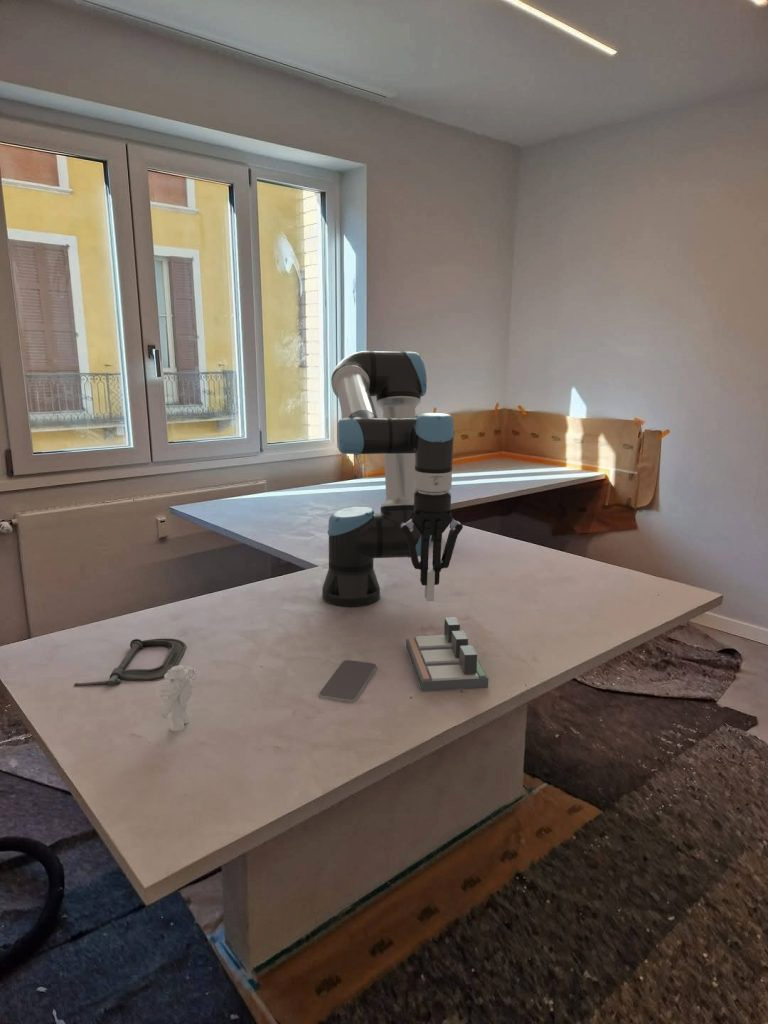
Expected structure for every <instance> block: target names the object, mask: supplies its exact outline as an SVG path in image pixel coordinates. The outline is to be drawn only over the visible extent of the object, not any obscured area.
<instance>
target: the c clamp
mask: <svg viewBox="0 0 768 1024" xmlns="http://www.w3.org/2000/svg"><path fill="white" fill-rule="evenodd" d="M129 643H130V644H129V647H130V650H129V651H128V653H127V654H126V655H125V657H124V658H123V660H122V661H121V663H120V664H119V665H118V667H116V668H114V669H113V671H111V673H110V675H109V679H108V680H100V681H99V680H98V681H90V682H74V685H73V687H88V686H89V687H91V686H101V685H102V686H105V685H107V686H109V687H114V686H115V685H119V684H121V680H127V681H135V682H136V681H137V682H139V681H140V682H147V681H148V682H151V681H153V682H154V681H158V680H162V679H166V678H165V677H164V675H165V674H166V673H167V671H168V670H170V669H171V668H172V667H174V666H178V665H180V663H181V660H182V659H183V656H184V654H185V652H186V650H187V644H186V643H185V642H184V641H182V640H180V639H176V638H153V639H145V640H141V639H138V638H134V639H132V640H131V641H130V642H129ZM151 647H152V648H154V647H155V648H157V647H158V648H160V647H165V648H169V651H168V653H167V655H166V656H165V658H164V660H163V662H162V664H161V665H159V666H156V667H154V668H148V669H147V668H145V669H144V668H134V669H133V668H132V669H131V668H130V669H127V668H128V666H129V664H130V662H131V661H132V660H133V658H134V657H135V655H136V653H137V652H138V651H142V650H143V648H151Z"/></svg>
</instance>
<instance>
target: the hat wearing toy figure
mask: <svg viewBox="0 0 768 1024" xmlns="http://www.w3.org/2000/svg"><path fill="white" fill-rule="evenodd" d="M196 670H197V669H195V668H193V666H192V665H188V666H185V664H184V665H182V664H179V665H178V666H174V667H172V668H171V669H170V670H168V671H167V673H166V674H165V675H164V677H165V678H164V679H165V680H166V679H167V680H169V683H168V682H166V684H165V686H164V687H163V688H161V689H159V691H158V693H160V695H159V697H160V698H161V699H162V701H163V702H166V703H165V705H164V706H165V707H164V708H163V710H162V711H161V713H160V714H161V716H162V718H163V719H168V715H169V714H170V713H171V720H172V723H171V724H170V725H169V731H172V732H182V731H184V729H185V725H187V724H188V723H190V721H191V719H190V715H189V712H188V710H187V706H188V704H187V703H188V701H189V700H190V698H191V695H192V694H193V683H192V682H191V680H190V679H192V681H195V680H196V679H197V673H196V672H197V671H196ZM163 697H165V698H167V699H165V698H163ZM171 708H172V709H171Z"/></svg>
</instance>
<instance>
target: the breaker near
mask: <svg viewBox="0 0 768 1024" xmlns="http://www.w3.org/2000/svg"><path fill="white" fill-rule="evenodd" d="M473 646H474V645H471V644H469V645H468V646H460V658H459V665H460V667H461V669H462V671H463V673H464V674H476V671H477V659H478V654H477V652H476V650H475V648H474V647H473Z"/></svg>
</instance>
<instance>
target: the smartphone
mask: <svg viewBox="0 0 768 1024" xmlns="http://www.w3.org/2000/svg"><path fill="white" fill-rule="evenodd" d="M376 670H377V664H376V663H373V662H367V661H360V660H352V659H345V660H344V659H343V660H342V662H340V664H339V665H338V667H337V668H336V669H335V671H334V672H333V673H332V674H331V676H330V678H329V679H328V680H327V681H326V683H324V685H323V687H322V688H321V689H320V691H318V697H319V698H322V699H326V700H336V701H338V702H344V703H355V702H356V701H357V700H358V698H359V697H360V695H361V693H362V692H363V691H364V689H365V688H366V686H367V684H368V683H369V681H370V680H371V678H372V677H373V675H374V673H375V672H376Z"/></svg>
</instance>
